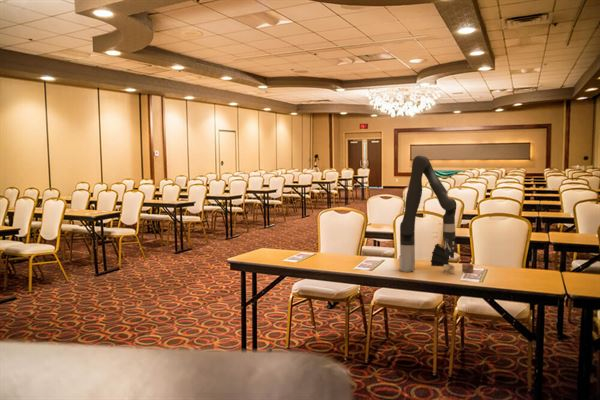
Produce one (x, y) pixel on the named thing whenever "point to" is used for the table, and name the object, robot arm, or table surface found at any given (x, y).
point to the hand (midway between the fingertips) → (449, 256)
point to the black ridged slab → (439, 256)
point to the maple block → (449, 269)
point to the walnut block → (467, 268)
